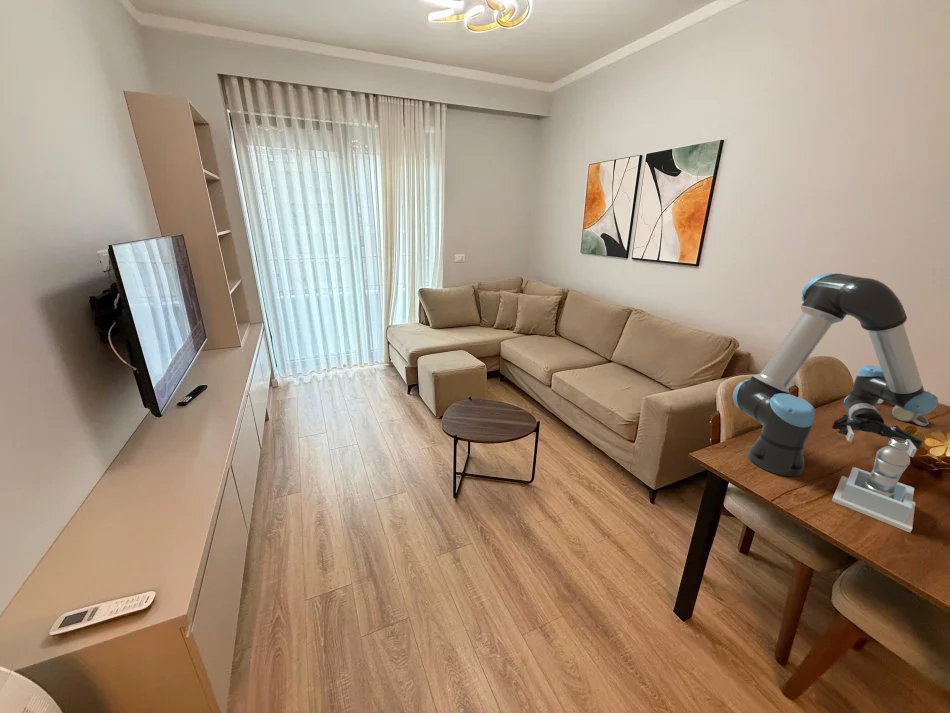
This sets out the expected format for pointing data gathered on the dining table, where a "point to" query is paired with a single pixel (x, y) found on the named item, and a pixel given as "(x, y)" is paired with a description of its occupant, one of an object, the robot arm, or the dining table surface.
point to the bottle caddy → (876, 500)
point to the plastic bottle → (888, 467)
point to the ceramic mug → (908, 416)
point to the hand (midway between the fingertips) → (881, 445)
